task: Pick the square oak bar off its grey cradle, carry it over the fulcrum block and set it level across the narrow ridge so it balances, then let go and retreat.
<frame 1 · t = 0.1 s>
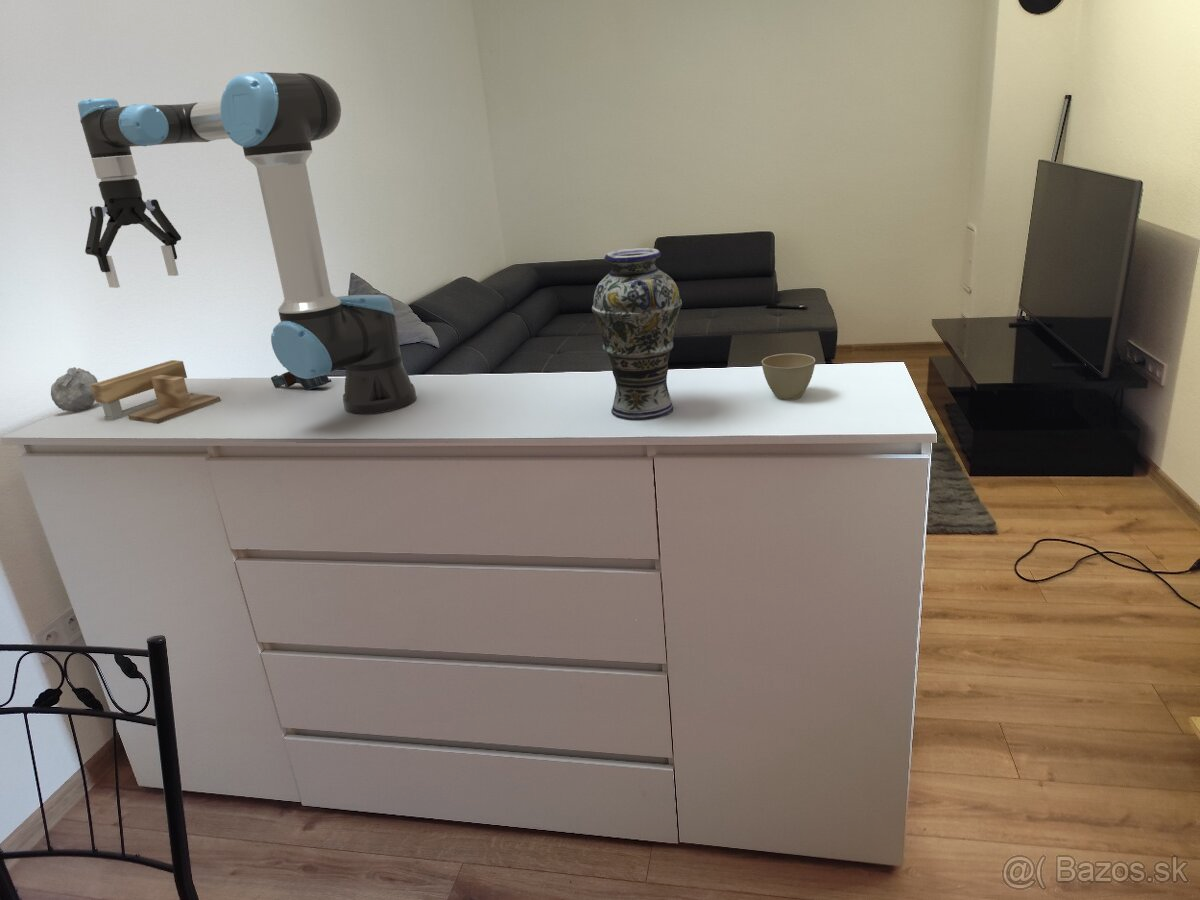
hand: (145, 281, 185), 28 cm above the table, fingers open, 13 cm apart
fulcrum: (176, 409, 190), on the table
cradle: (147, 406, 195), on the table
stone: (84, 409, 197), on the table
flower pot: (788, 396, 165), on the table
vase: (643, 410, 165), on the table
bar: (143, 389, 193), point 4 cm above the table, touching cradle
gun: (302, 389, 199), on the table
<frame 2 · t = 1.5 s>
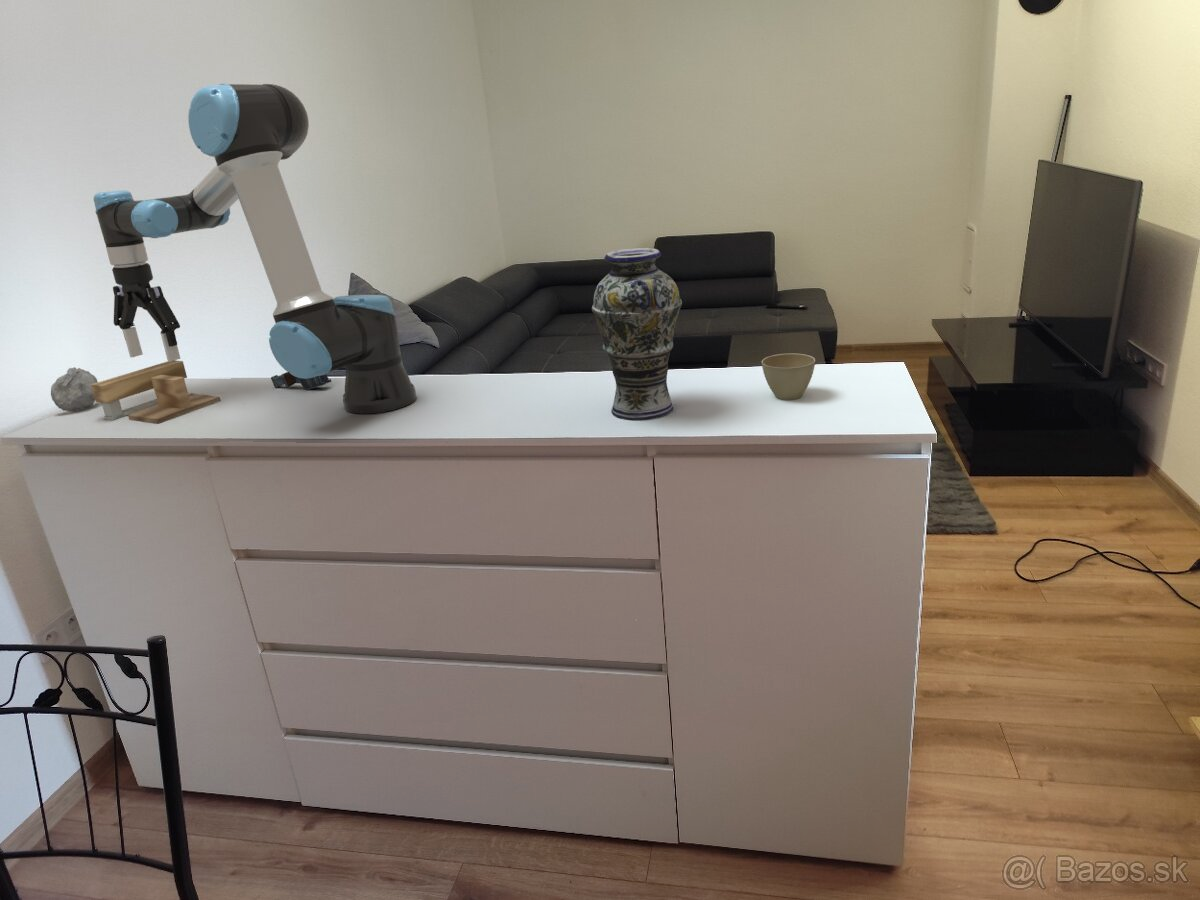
hand: (155, 358, 195), 10 cm above the table, fingers open, 13 cm apart
nothing on the table moved.
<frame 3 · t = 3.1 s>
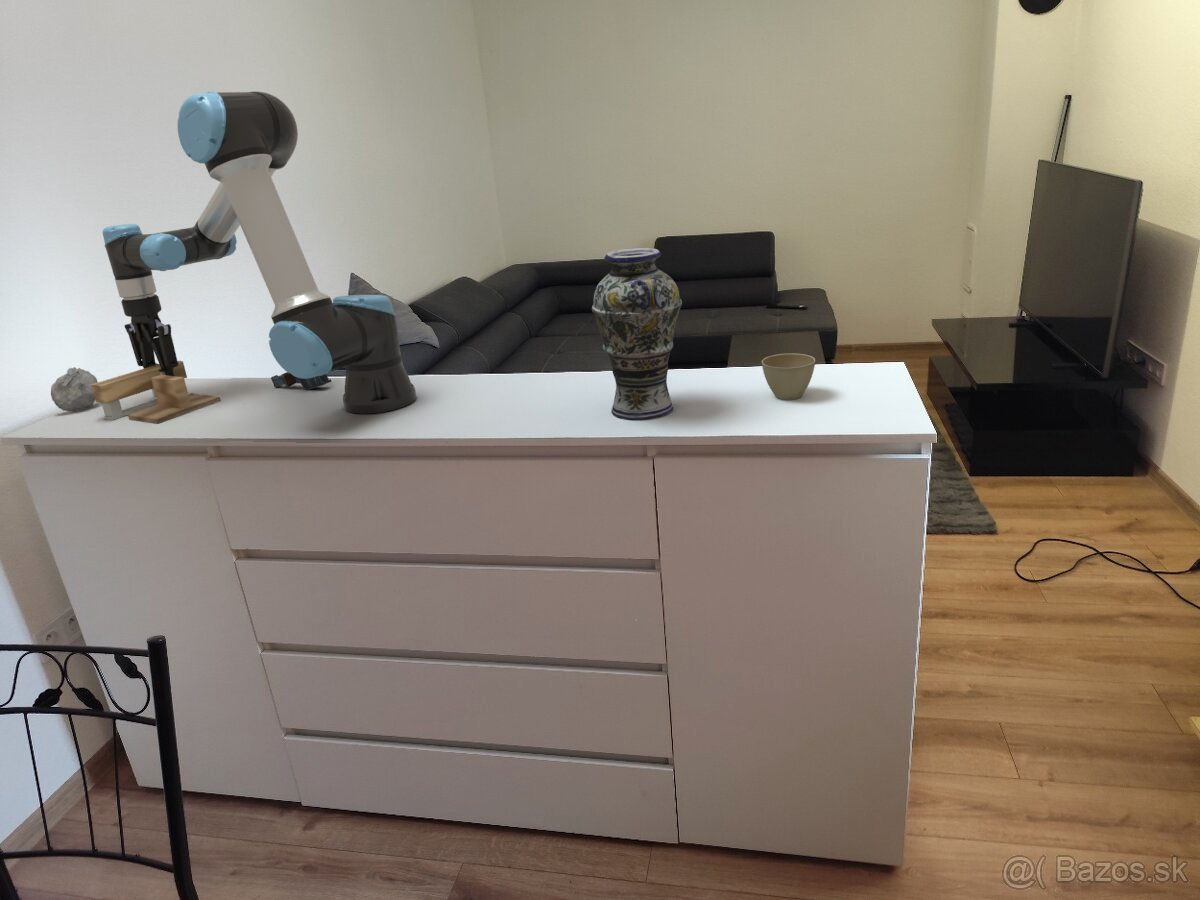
hand: (166, 396, 198), 1 cm above the table, fingers closed on bar, 4 cm apart
bar: (143, 389, 193), point 4 cm above the table, touching cradle, gripper
everything else where it was.
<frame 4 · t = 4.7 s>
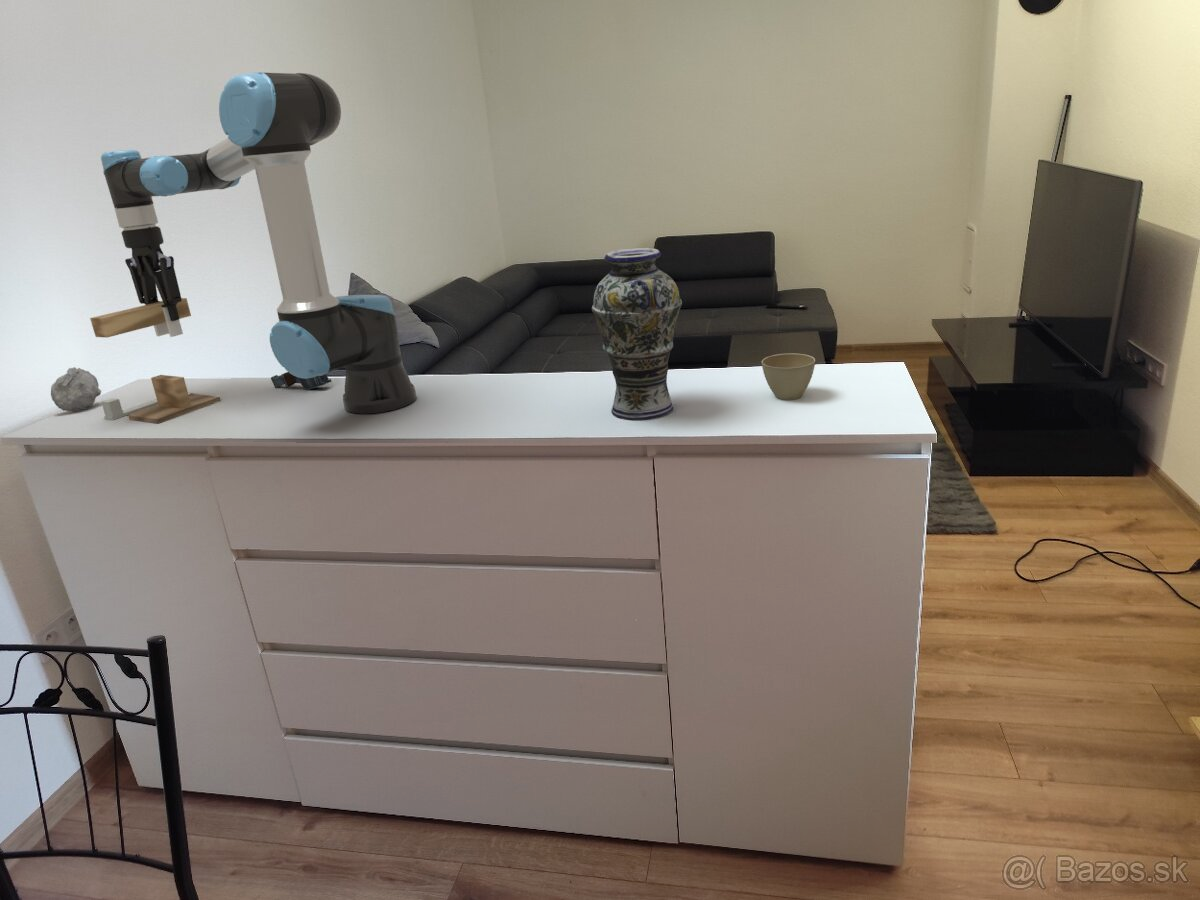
hand: (169, 334, 190), 16 cm above the table, fingers closed on bar, 4 cm apart
bar: (145, 326, 185), point 19 cm above the table, touching gripper
everything else where it was.
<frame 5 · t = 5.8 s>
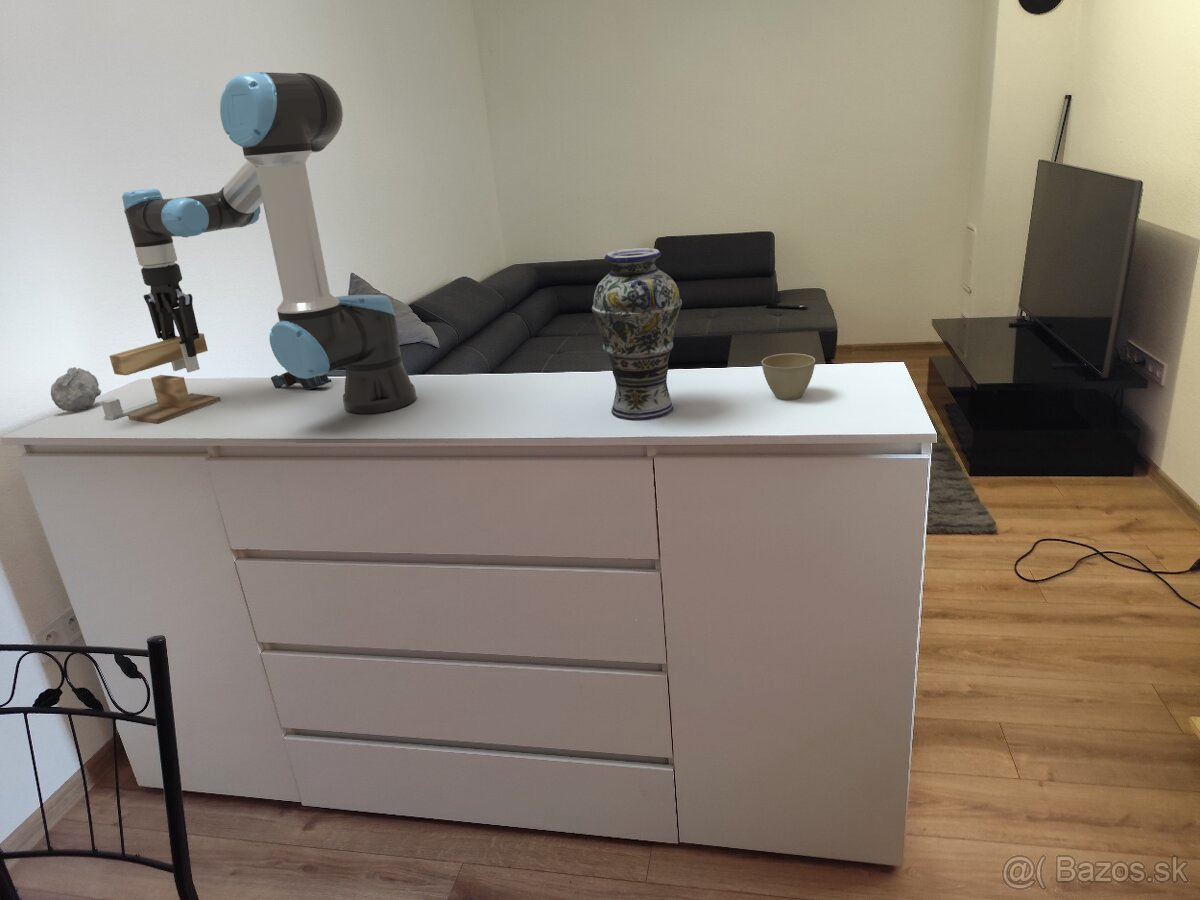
hand: (186, 369, 191), 8 cm above the table, fingers closed on bar, 4 cm apart
bar: (163, 362, 186), point 11 cm above the table, touching gripper
everything else where it was.
when the fingers open (5 cm above the table, at t = 6.5 s): bar stays where it is, resting on fulcrum.
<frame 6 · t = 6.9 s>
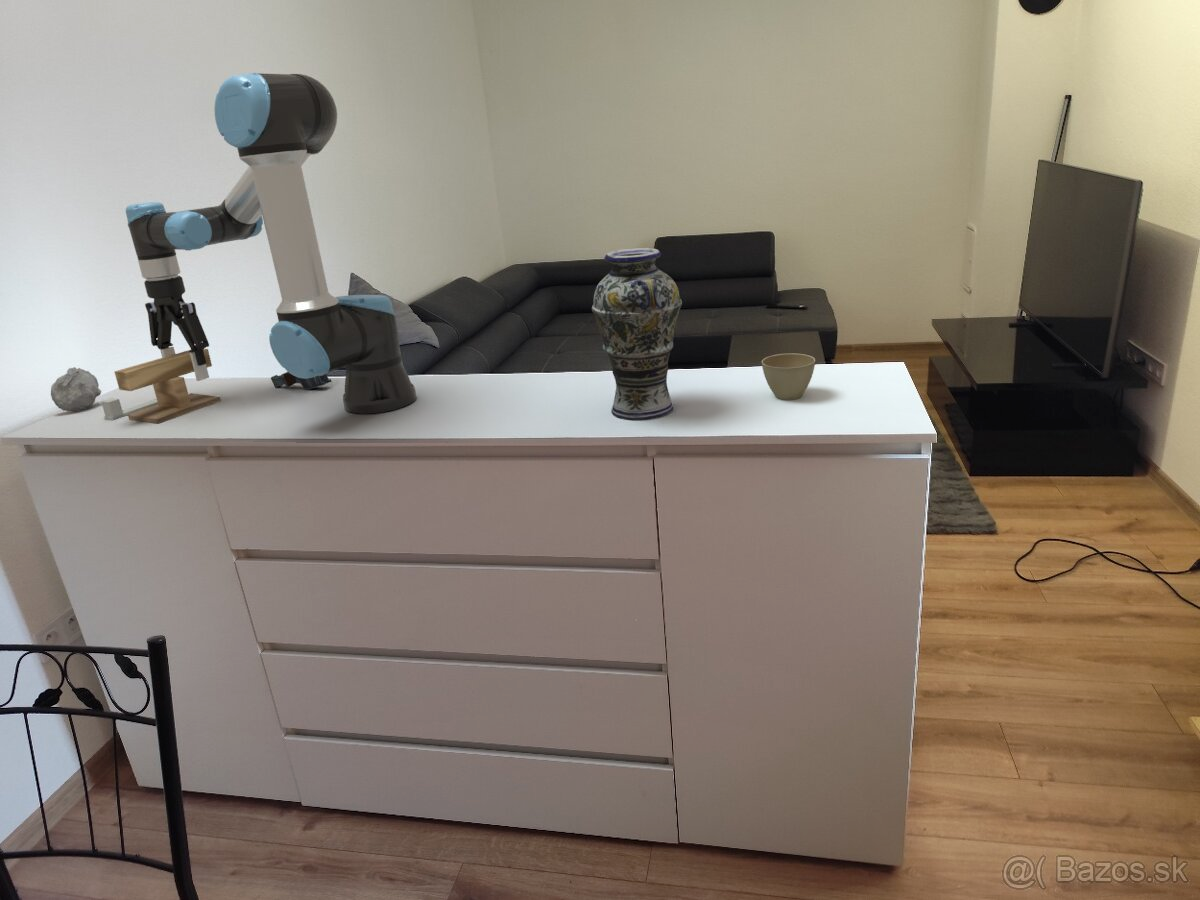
hand: (188, 377, 192), 6 cm above the table, fingers open, 9 cm apart
bar: (167, 377, 187), point 8 cm above the table, touching fulcrum
everything else where it was.
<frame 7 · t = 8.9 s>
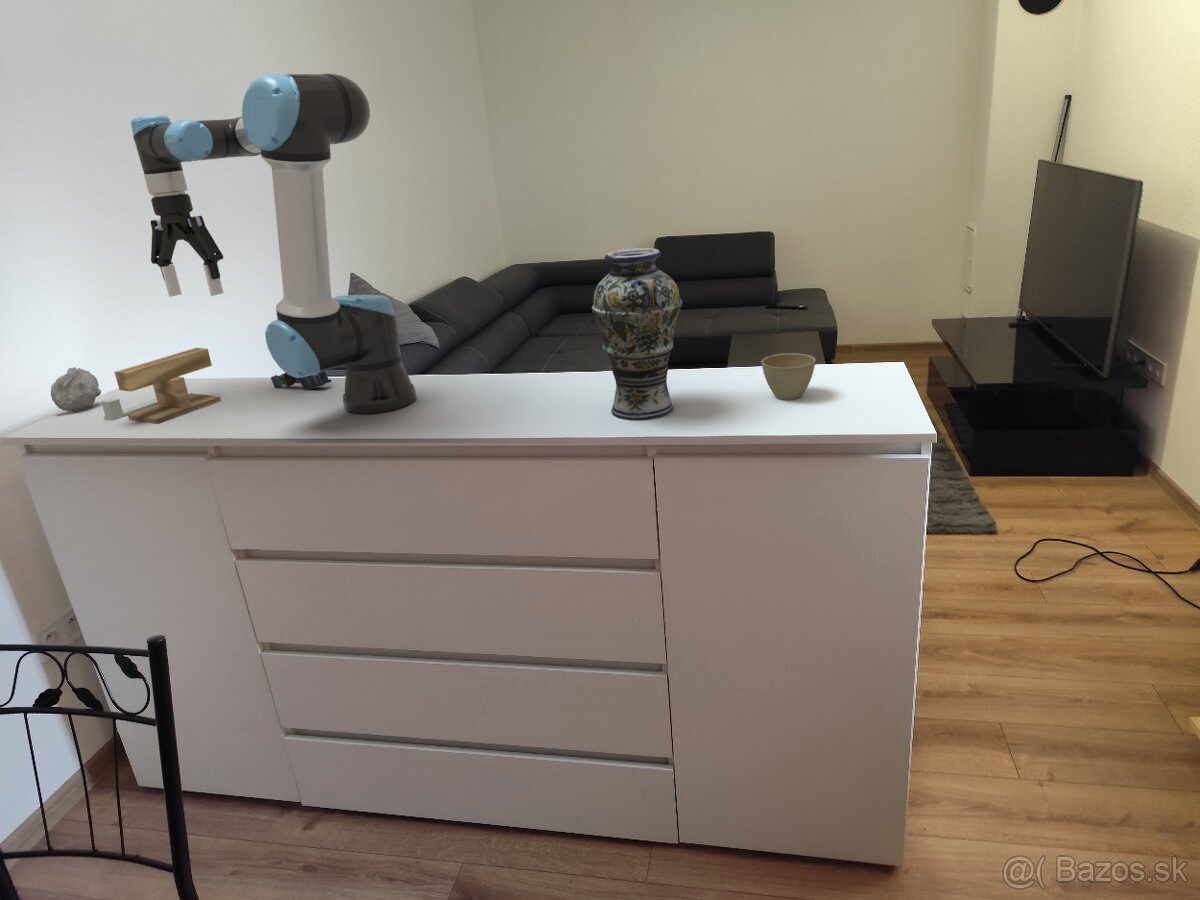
hand: (196, 295, 187), 24 cm above the table, fingers open, 13 cm apart
nothing on the table moved.
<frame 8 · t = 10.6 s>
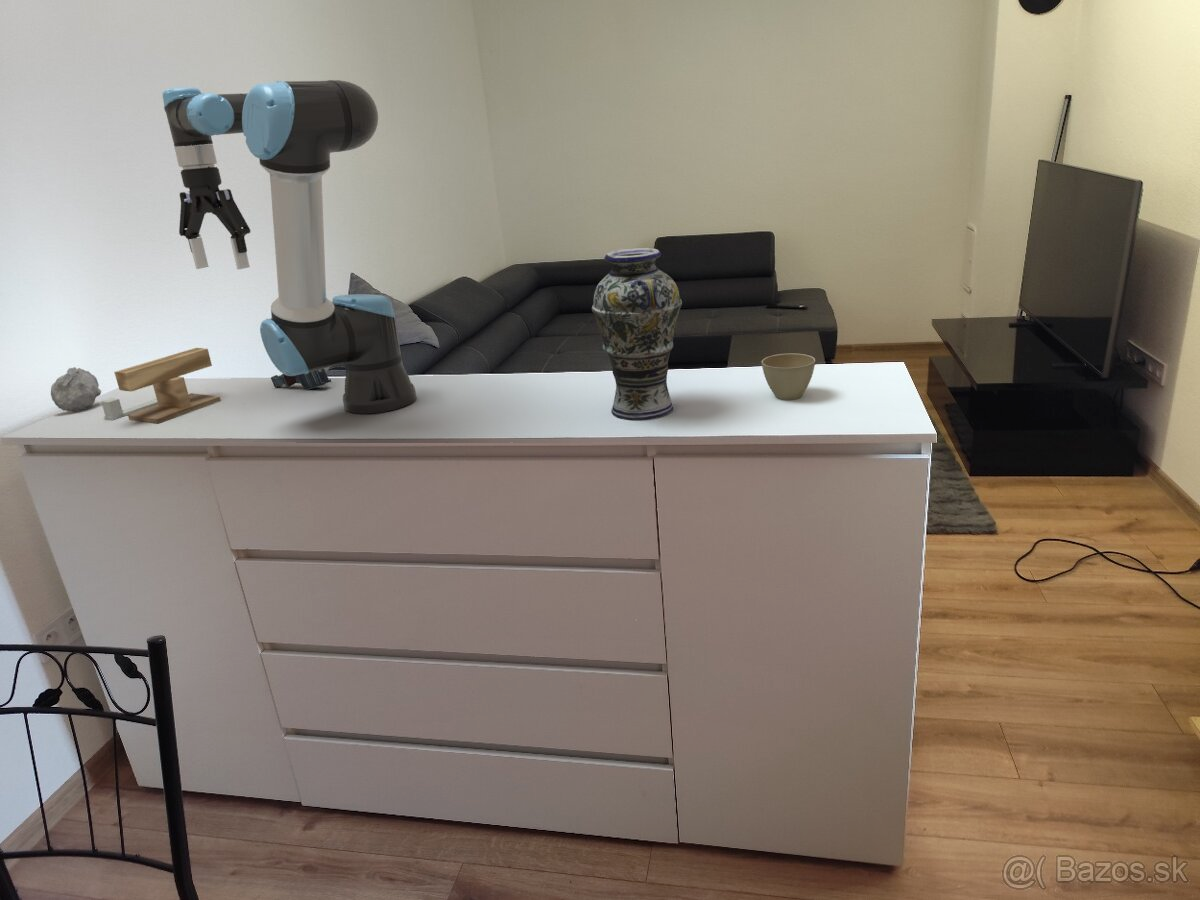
hand: (222, 268, 189), 29 cm above the table, fingers open, 13 cm apart
nothing on the table moved.
at the end: bar 0.0 cm off-centre on the fulcrum, point 7.5 cm above the fulcrum's base; bar tilted 0°; the gripper is holding nothing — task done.
